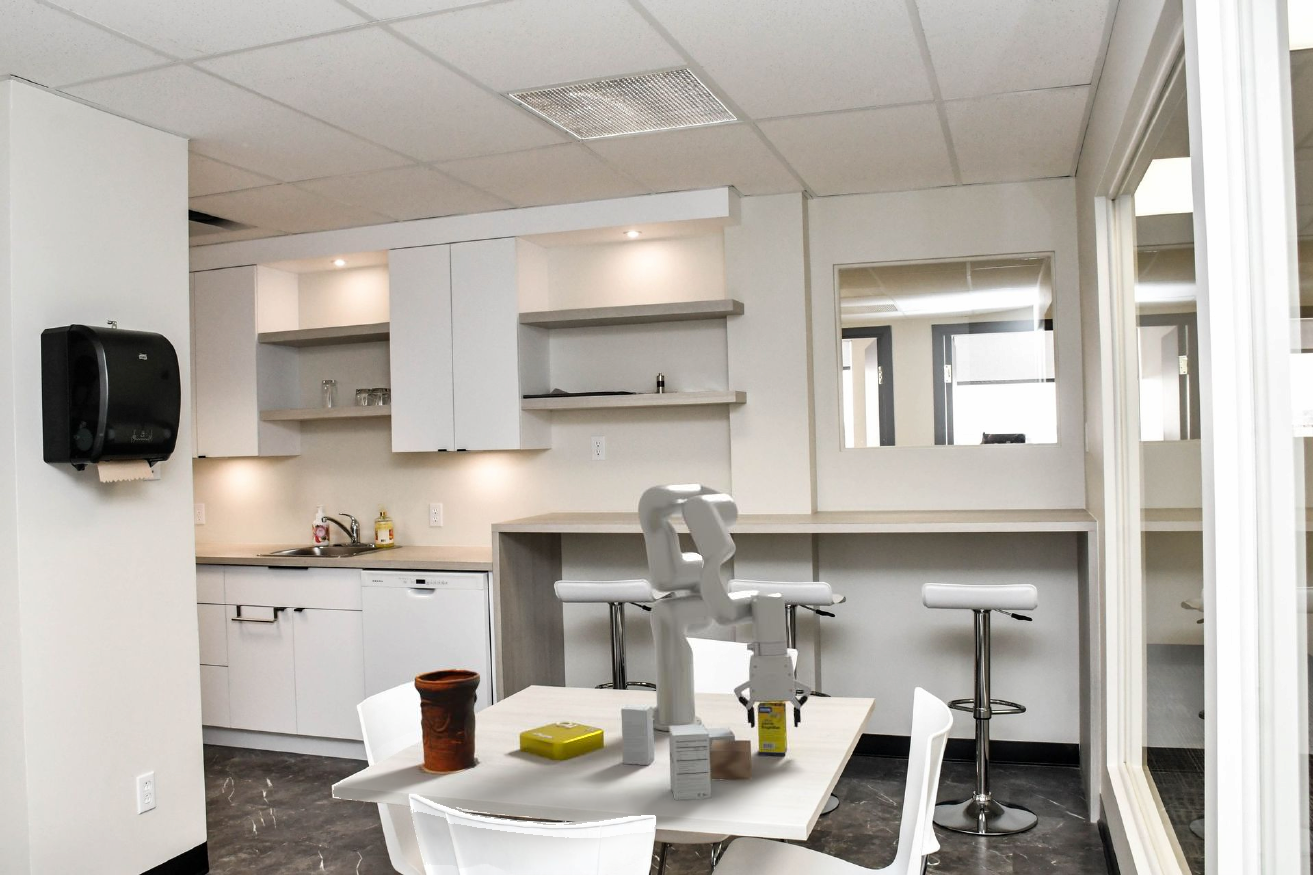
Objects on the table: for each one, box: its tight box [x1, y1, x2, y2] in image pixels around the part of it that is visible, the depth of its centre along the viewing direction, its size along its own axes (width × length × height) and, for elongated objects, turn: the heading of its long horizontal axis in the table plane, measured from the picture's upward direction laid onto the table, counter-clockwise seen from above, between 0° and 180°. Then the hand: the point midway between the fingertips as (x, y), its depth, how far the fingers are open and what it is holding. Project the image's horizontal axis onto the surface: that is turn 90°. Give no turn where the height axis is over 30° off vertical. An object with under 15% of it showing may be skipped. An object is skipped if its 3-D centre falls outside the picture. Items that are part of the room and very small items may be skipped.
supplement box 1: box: [668, 723, 712, 801], centre depth 197 cm, size 7×7×13 cm
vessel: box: [413, 668, 481, 775], centre depth 222 cm, size 14×14×20 cm
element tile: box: [519, 720, 605, 762], centre depth 232 cm, size 15×15×5 cm
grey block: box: [706, 727, 736, 751], centre depth 219 cm, size 7×7×6 cm
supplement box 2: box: [757, 701, 788, 757], centre depth 223 cm, size 6×6×11 cm
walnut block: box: [710, 739, 753, 781], centre depth 209 cm, size 8×8×6 cm
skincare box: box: [620, 704, 655, 766], centre depth 219 cm, size 6×4×12 cm
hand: (774, 725), depth 223 cm, fingers open, 9 cm apart
